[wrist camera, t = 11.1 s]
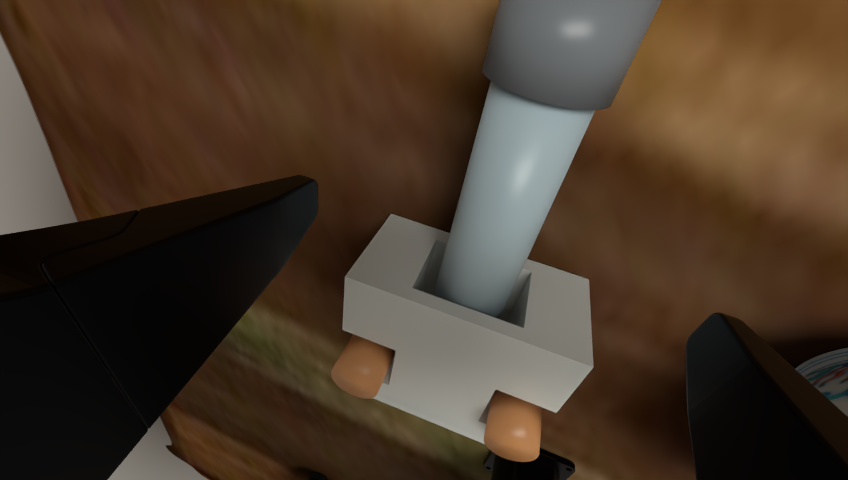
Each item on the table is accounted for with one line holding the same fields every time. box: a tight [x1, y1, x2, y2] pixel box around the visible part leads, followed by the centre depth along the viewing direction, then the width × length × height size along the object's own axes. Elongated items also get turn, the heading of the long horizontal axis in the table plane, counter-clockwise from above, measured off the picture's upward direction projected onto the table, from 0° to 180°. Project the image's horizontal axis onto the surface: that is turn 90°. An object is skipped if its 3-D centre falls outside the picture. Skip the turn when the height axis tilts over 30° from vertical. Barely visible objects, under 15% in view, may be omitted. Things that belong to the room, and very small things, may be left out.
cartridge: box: [433, 0, 662, 319], centre depth 16 cm, size 16×5×5 cm, turn 170°
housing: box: [342, 214, 593, 444], centre depth 23 cm, size 10×12×6 cm
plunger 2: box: [484, 390, 543, 462], centre depth 20 cm, size 3×3×2 cm
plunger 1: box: [331, 334, 395, 399], centre depth 21 cm, size 3×3×2 cm
